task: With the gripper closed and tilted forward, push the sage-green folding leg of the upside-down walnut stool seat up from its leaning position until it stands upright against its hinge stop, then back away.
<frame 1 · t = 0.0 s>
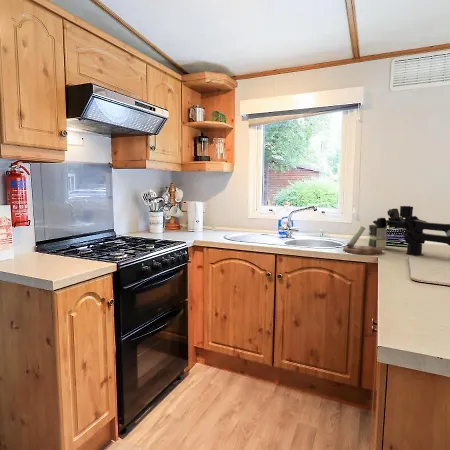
hand: (378, 221, 208), 17 cm above the worktop, tool horizontal, fingers open, 9 cm apart
folding leg: (356, 236, 196), point 9 cm above the worktop, hinge at 30.0°
stool seat: (362, 251, 196), on the worktop
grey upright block: (377, 248, 210), on the worktop
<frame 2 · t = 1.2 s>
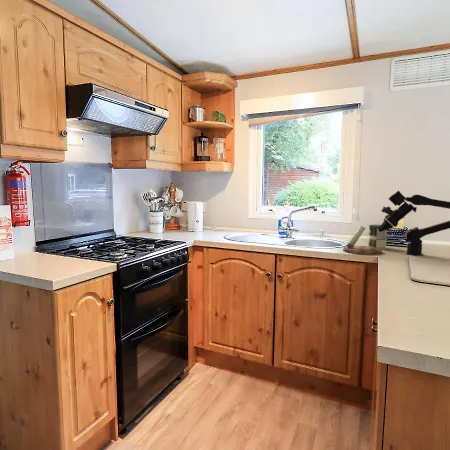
hand: (378, 230, 192), 13 cm above the worktop, tool tilted 45°, fingers open, 8 cm apart
nothing on the worktop moved.
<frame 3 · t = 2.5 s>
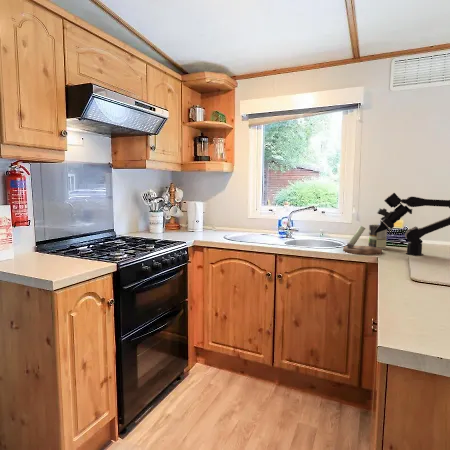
hand: (375, 232, 193), 12 cm above the worktop, tool tilted 45°, fingers closed
nothing on the worktop moved.
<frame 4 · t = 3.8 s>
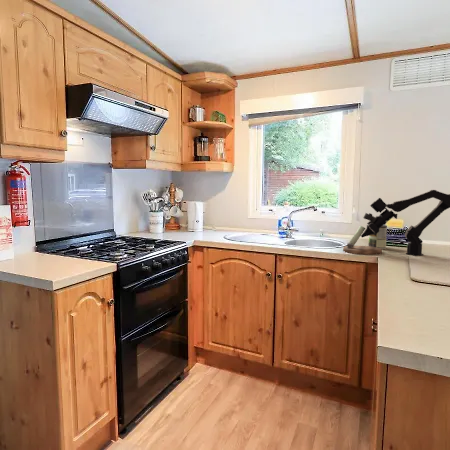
hand: (361, 236, 195), 9 cm above the worktop, tool tilted 45°, fingers closed, pressing on folding leg
folding leg: (356, 236, 196), point 9 cm above the worktop, hinge at 29.9°, touching gripper
everything else where it was.
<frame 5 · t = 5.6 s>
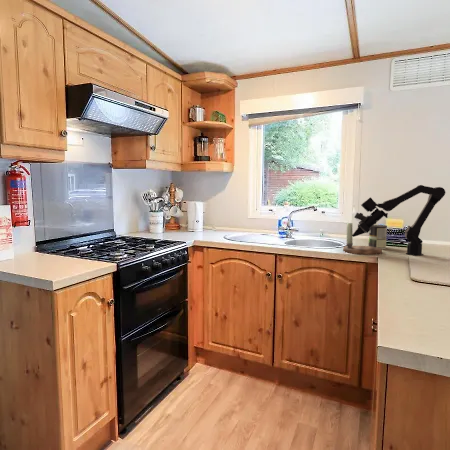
hand: (352, 236, 197), 9 cm above the worktop, tool tilted 45°, fingers closed, pressing on folding leg
folding leg: (349, 234, 198), point 10 cm above the worktop, hinge at -2.0°, touching gripper
everything else where it was.
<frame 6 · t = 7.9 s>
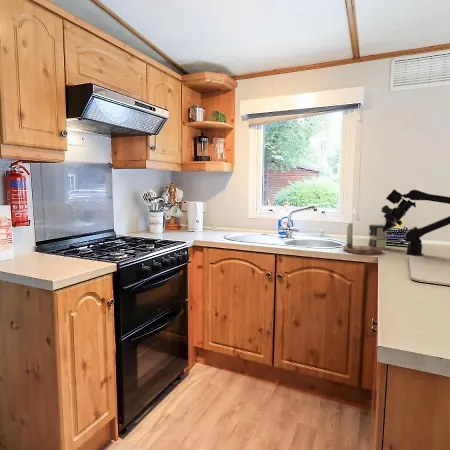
hand: (383, 231, 192), 12 cm above the worktop, tool tilted 35°, fingers closed
folding leg: (349, 234, 198), point 10 cm above the worktop, hinge at -1.6°
everything else where it was.
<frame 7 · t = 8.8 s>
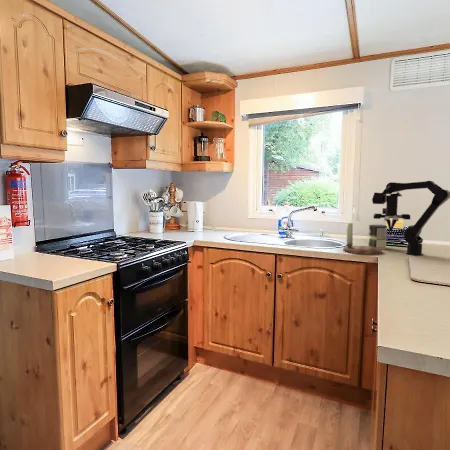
hand: (390, 231, 194), 12 cm above the worktop, tool pointing down, fingers closed
nothing on the worktop moved.
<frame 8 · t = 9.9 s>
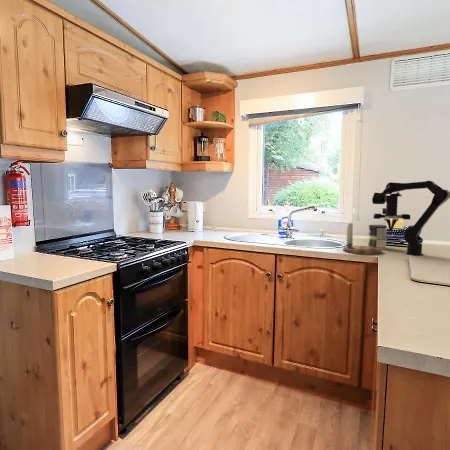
hand: (390, 231, 194), 12 cm above the worktop, tool pointing down, fingers closed
nothing on the worktop moved.
at the end: folding leg at -2° (first picture: +30°); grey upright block moved 0.2 cm from its start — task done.
